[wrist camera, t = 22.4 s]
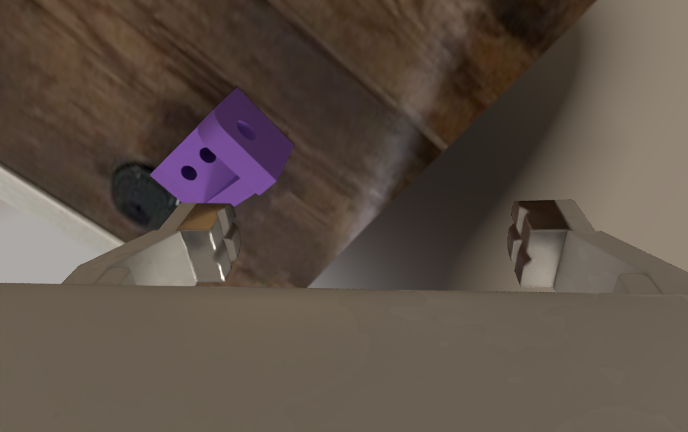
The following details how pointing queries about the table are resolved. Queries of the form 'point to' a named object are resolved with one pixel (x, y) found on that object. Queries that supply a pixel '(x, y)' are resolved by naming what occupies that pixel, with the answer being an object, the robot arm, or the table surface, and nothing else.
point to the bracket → (226, 155)
